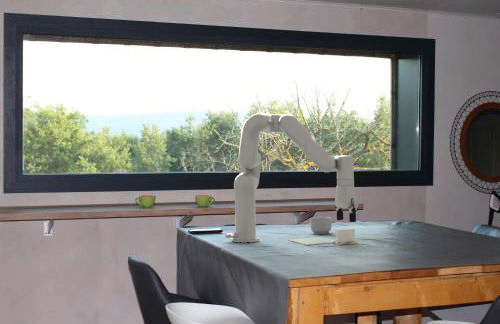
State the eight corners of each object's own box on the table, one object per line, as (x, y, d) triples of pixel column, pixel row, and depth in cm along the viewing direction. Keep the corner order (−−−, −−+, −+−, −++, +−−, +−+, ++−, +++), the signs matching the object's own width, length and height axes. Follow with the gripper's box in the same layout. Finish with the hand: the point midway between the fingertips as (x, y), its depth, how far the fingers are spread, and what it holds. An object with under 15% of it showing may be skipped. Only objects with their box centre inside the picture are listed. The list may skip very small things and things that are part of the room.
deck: (338, 244, 299) (338, 230, 299) (335, 244, 301) (335, 229, 301) (354, 243, 303) (354, 228, 303) (352, 242, 305) (352, 228, 305)
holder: (338, 244, 298) (338, 242, 298) (332, 243, 302) (332, 241, 302) (357, 243, 302) (357, 241, 302) (351, 242, 306) (351, 239, 306)
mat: (306, 245, 298) (306, 244, 298) (287, 240, 312) (287, 239, 312) (340, 242, 306) (339, 241, 306) (320, 237, 320) (320, 237, 320)
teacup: (324, 235, 328) (324, 219, 328) (305, 233, 335) (305, 217, 335) (338, 232, 339) (338, 216, 339) (320, 230, 346) (320, 215, 346)
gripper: (327, 182, 307) (328, 219, 308) (349, 184, 292) (350, 223, 292) (341, 181, 311) (342, 218, 311) (363, 183, 295) (364, 222, 296)
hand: (346, 220), depth 302 cm, fingers open, 9 cm apart
